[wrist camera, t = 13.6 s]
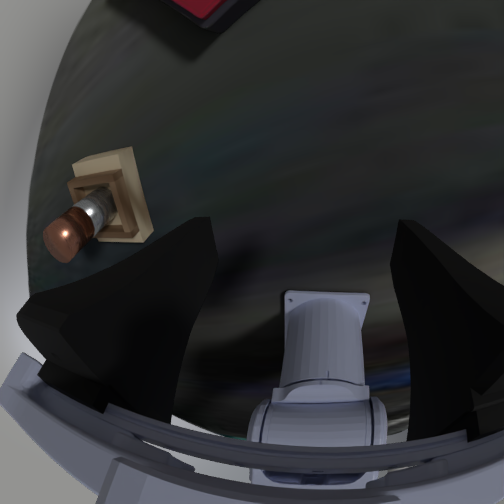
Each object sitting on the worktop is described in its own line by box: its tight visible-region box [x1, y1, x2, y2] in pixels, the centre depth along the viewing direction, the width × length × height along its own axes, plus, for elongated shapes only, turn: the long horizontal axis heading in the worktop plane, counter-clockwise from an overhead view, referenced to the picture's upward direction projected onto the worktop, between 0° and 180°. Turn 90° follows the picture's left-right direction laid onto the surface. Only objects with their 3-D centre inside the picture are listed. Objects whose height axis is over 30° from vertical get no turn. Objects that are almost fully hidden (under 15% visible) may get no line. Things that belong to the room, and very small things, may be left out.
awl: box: [43, 187, 118, 263], centre depth 18 cm, size 3×3×6 cm
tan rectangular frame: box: [67, 147, 154, 242], centre depth 21 cm, size 8×6×3 cm
